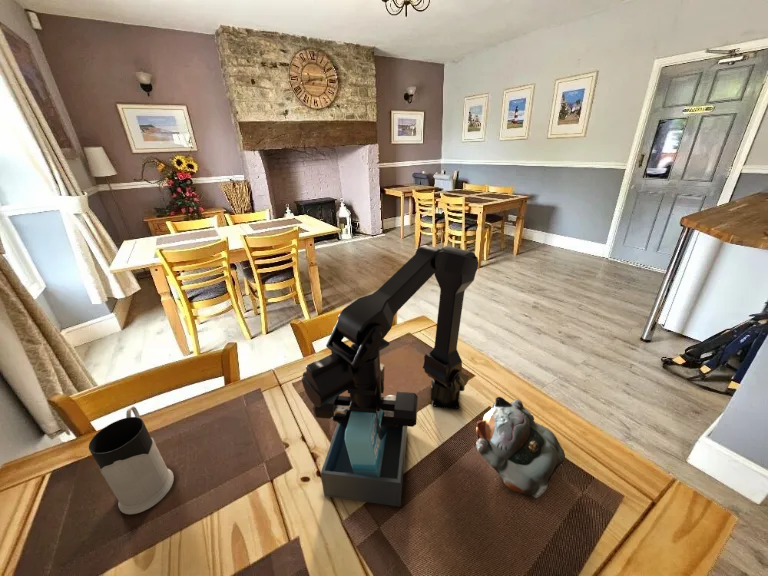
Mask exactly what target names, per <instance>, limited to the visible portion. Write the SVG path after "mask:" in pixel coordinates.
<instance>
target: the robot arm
mask: <svg viewBox="0 0 768 576" xmlns="http://www.w3.org/2000/svg"><path fill="white" fill-rule="evenodd" d="M478 270H479V258H478V256H477V255H476V253H474V252H473V251H470V250H467V249H462V248H458V247H454V246H450V245H445V246H443V247H441V248H439V247H435V246H432V245H427V244H424V245H420V246H419V247H417V249H416V250H415V253H414V255H412V257H410V258H409V260H408V261H406V262H405V263H404V264H403V265H402V266H401V267H400V268H399V269H398V270H397V271H396V272H395V273H394V274H393V275H392V276H391V277H390V278H388V279H387V280H386V282H384V283H383V284H382V285H381V286H380V287H379V288H377V290H376V291H374V292H373V293H371V294H367V295H364V296H361V297H359V298H356V300H354V301H353V302H351V303H350V304H348V305H347V306H346V307H344V308H343V309H342V310H341V311H340V313H339V314H338V315H337V321H336V324H335V326H334V327H333V329H332V331H331V334H330V336H329V339H328V340H327V343H326V345H325V347H326V348H327V349H328V350H330V351H331V352H330V353H331V354H328V355H327V356H325V357H323V358H321V359H319V360H316V361H313V362H310V363H308V364H307V365H306V366H305V371H304V372H303V373H302V377H301V384H302V387H303V389H304V392H305V393H306V395H307V397H308V399H309V401H310V402H311V403H312V404H313V406H312V410H313V415H314V417H315V418H319V419H329V420H330V419H332V422H334V423H339V424H340V425H342V426H343V427H344V428H346V427H347V424H348V421H349V417H350V414H351V411H356V412H367V413H381V412H382V410H383V415H382V420H381V426H380V435H379V438H380V440H382V439H383V437H384V435H385V434H386V432H387V431H388V430H389V429H390V428H391V427H393V428H395V427H397V425H399V426H407V427H411V428H414V427H415V426H416V425H417V420H418V419H417V418H418V403H419V397H418V394H417V393H415V392H410V391H408V392H407V391H396V395H395V394H394V395H392V394H388V395H386V396H382V394H384V392H385V364H384V363H381V354H380V352H381V351H382V350H384V349H385V348H387V347H389V346H390V342H389V341H388V340H386V339H384V338H385V337H386V336H387V335H388V333H389V332H390V331H391V330H392V327H393V322H394V318H395V316H396V315H397V313H398V312H399V311H400V310H401V309H402V307H403V306H404V305H405V304H406V303H407V302H408V301H409V300H410V299H411V298H412V297H413V296H414V295H415V294H417V292H418V291H419V290H420V289H421V288H422V287H423V286H424V285H425V284H426V283H427V282H428V281H429V280H430V279H431V278H432V276H434V277H435V279H436V283H437V284H438V286H439V289H440V290H439V300H438V301H439V302H438V309H437V317H436V318H437V320H436V329H435V337H434V338H435V339H434V347H433V348H431V350H430V351H429V352H428V353H425V355H424V356H423V360H424V361H423V366H422V369H423V370H424V371H423V372H424V373H425V374H427V377H429V378H431V379H432V380H431V382H430V400H431V401H432V408H434V409H435V408H436V409H446V410H447V409H448V410H460V409H461V408H460V407H461V406H460V396H461V395H460V393H461V392H464V391H465V388H466V385H467V384H468V381H469V377H470V376H469V375H467V374H465V373H464V372H463V360H462V358H461V356H460V354H459V351H458V341H459V335H460V334H459V333H460V326H461V319H462V311H463V304H464V298H465V292H466V290H467V289H468V287H470V285H472V283H473V282H474V281H475V277H476V273H477V272H478ZM343 339H347V340H348V341H349V342H351V343H352V344H351V345H348V344H347V343H345V342H344V341H343ZM345 392H347V394H349V396H348V395H342V394H344V393H345Z"/></svg>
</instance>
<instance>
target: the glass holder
mask: <svg viewBox="0 0 768 576" xmlns="http://www.w3.org/2000/svg"><path fill="white" fill-rule="evenodd" d="M132 413H133V415H134V416H132ZM125 415H126V416H125V418H120V419H118V420H115V421H114V422H111V423H110V424H108V425H106V426H105V427H103V428H102V429H100V430H99V431H98V432H97V433H96V434H95V435H94V436H93V437H92V438H91V440H90V441H89V443H88V451H89V452H90V453H91V455H92V457H93V459H94V460H95V462H96V464H97V466H98V470H99V472H100V473H101V475H102V477H103V478H104V479H105V481H106V483H107V485H108V486H109V487H110V489H111V491H112V492H113V494H114V496H115V497H116V499H117V501H118V508H119V511H120V512H121V513H123V514H124V515H136V514H139V513H142V512H146V511H147V510H149V509H151V508H152V507H154V506H155V505H156V504H158V503H159V502H160V501H162V499H164V497H165V496H166V495H167V494H168V493H169V491H170V490H171V488H172V486H173V484H174V481H175V476H174V473H173V471H172V470H171V469H170V468H168V467H167V465H166V463H165V461H164V458H163V456H162V454H161V452H160V450H159V448H158V446H157V444H156V441H155V440H154V437H152V436H151V434H150V433H149V430H148V428H147V426H146V424H145V422H144V420H143V419H142V418H141V416H140V413H139V411H138V409H137V407H136V406H133V405H132V406H129V407H128V408H127V410H126V414H125Z"/></svg>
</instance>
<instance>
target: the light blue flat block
mask: <svg viewBox="0 0 768 576" xmlns="http://www.w3.org/2000/svg"><path fill="white" fill-rule="evenodd" d="M382 415H383V410H382V412H381V413H367V412H356V411H351V414H350V417H349V421H348V424H347V427H346V431H345V443H346V447H347V451H348V454H349V458H350V461H351V465H352V468H353V472H354V474H357V475H365V476H373V477H380V474H381V467H382V460H383V454H384V447H385V441H386V434H387V432H386V434H385V435H384V437H383V439H382V440H380V438H379V435H380V426H381V420H382Z"/></svg>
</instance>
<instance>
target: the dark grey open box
mask: <svg viewBox="0 0 768 576" xmlns="http://www.w3.org/2000/svg"><path fill="white" fill-rule="evenodd" d="M336 423H337V424H336V426H335V430H334V431H333V435H332V438H331V441H330V444H329V447H328V450H327V453H326V456H325V459H324V461H323V465H322V467H321V470H320V478H321V484H322V490H323V497H326V498H332V499H340V500H341V499H342V500H348V501H355V502H363V503H368V504H369V503H370V504H378V505H386V506H392V507H399V508H400V507H402V494H403V483H404V473H405V460H406V449H407V438H408V426H399V425H397V427H395V428H393V427H391V428H390V429H389V430H388V431H387V434H386V441H385V447H384V454H383V460H382V467H381V474H380V477H373V476H365V475H357V474H354V472H353V468H352V465H351V461H350V458H349V454H348V451H347V447H346V443H345V431H346V428H344V427H343V426H342V425H340V424H339V423H338V422H336Z"/></svg>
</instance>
